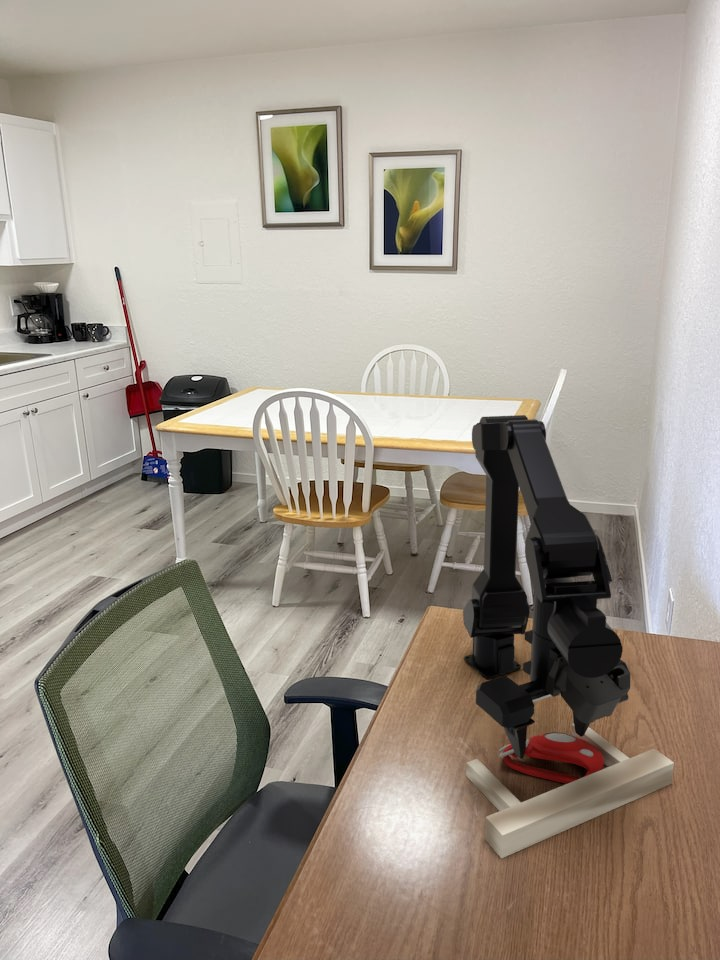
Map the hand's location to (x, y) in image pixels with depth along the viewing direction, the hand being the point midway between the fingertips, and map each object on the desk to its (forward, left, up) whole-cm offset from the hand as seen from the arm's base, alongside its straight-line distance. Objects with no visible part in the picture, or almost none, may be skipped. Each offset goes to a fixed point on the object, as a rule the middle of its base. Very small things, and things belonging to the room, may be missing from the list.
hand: (550, 745), depth 89 cm
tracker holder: (-2, +2, -5) cm, 5 cm away
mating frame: (+2, 0, -4) cm, 5 cm away
